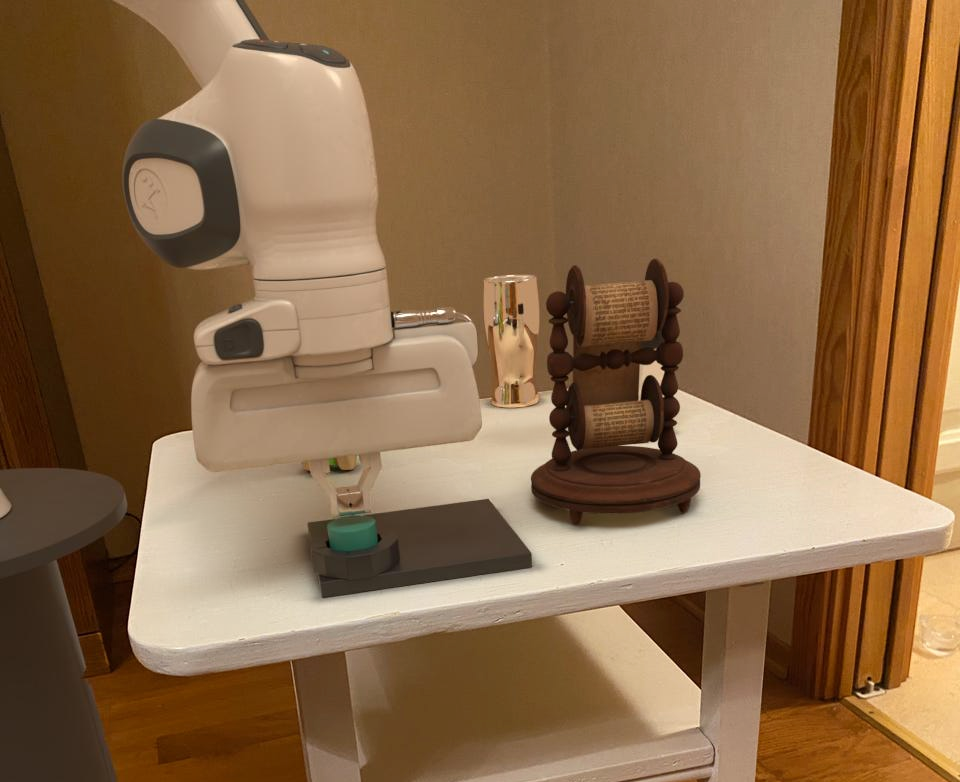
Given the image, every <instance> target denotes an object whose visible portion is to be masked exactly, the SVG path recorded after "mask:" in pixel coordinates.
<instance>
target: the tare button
mask: <svg viewBox="0 0 960 782" xmlns="http://www.w3.org/2000/svg"><path fill="white" fill-rule="evenodd" d="M363 515H364V514H356V515H347V516H341V517H336V518H334V519H335V520H333V521H331V522H329V523H328V525H327V529H328V536H329V544H330V549H333V550H335V551H353V550H360V549H366V548H368V547H371V546H374V545H377V544H378V539H377V530H376V522H375V519H374V518H372V517H369V516H363Z"/></svg>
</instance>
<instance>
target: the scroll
mask: <svg viewBox="0 0 960 782" xmlns="http://www.w3.org/2000/svg"><path fill="white" fill-rule="evenodd" d="M584 280H585V279H584V275H583V273H582V270H581V268H580V267H579V266H578V265H577V264H574V265H572V266H571V267H570V269H569V270H568V273H567V277H566V282H565V292H563V291H560V290H559V291H558V290H557V291H556V290H555V291H553V292H551V293H550V294H549V295H548V296H547V299H546V302H545V307H546V311H547V313H548V314H549V315H550V316H552V317H551V318H549V319H548V323H549V324H551V325H552V329H551V334H550V336H549V337H550V338H549V347H550V348H551V350H552V352H550V353H549V354H548V355H547V358H546V368H547V373H548V375H549V376H551V377H550V380H551V382H553V383H554V384H553V387H552V388H553V389H552V391H551V396H550V401H551V403H552V405H553V406H554V408H553V409H552V410H551V411H550V413H549V418H548V420H549V424H550V426H551V427H552V428H553V429H554V430H553V432H552V433H551V436H552V437H553V438H555V441H554V444H553V447H552V450H551V458H550V459H549V460H547V461H545V463H544V464H542V465H540V466H538V467H537V468H536V469H534V470H533V472H532V474H531V475H530V483H531V484H530V490H531V493H532V496H534V498H536V499H537V500H539V501H540V502H541V503H544V504H546V505H548V506H551V507H553V508H558V509H561V510H564V511H566V510H567V511H568V515H569V518H570V521H571V523H572V525H574V526H578V525H580V524H581V521H582V517H583V513H586V514H587V513H588V514H601V515H602V514H605V515H613V514H614V515H617V514H618V515H619V514H633V513H634V514H635V513H644V512H651V511H657V510H661V509H666V508H670V507H673V506H676V505H677V507H678V509H679V512H680V513H682V514H685V513H687V512H688V510H689V509H690V506H691V502H692V498H693V497H695V496H696V495H697V494H698V493H699V491H700V489H701V470H700V469H699V467H697V466H696V465H695V464H693V463H692V462H690V461H688V460H686V459H685V458H684V457H682V456H680V455H678V454H676V453H674V451H675V450H676V449H677V447H678V439H677V435H676V432H675V428H674V427H676V426H677V425H678V421H677V420H675V417H677V416H678V414H679V413H680V410H681V405H680V401H679V400H678V398H676V397H675V395H676V394H677V393H678V391H679V384H678V380H677V376H676V371H678V370H679V369H680V367H679V366H678V365H680V364H681V363H682V362H683V359H684V348H683V345H682V343H680V341H677V340H678V339H679V336H680V334H681V328H680V324H679V320H678V315H677V314H679V313H681V312H682V309H681V308H679V307H678V306H679V305H680V304H681V302H682V301H683V299H684V296H685V293H684V292H685V291H684V288H683V286H682V285H681V284H680V283H678V282H676V281H669V279H668V273H667V271H666V269H665V265H664V264H663V263H662V261H661V260H660V259H659V258H652V259H651V260H650V261H649V263H648V265H647V267H646V271H645V275H644V280H637V281H636V280H635V281H624V282H612V283H600V284H588V285H585V281H584ZM565 315H566V317H565ZM566 323H567V324H568V328H569V330H570V334H571V335H572V344H573V345H572V354H573V355H572V354H570V353H569V352H568V351H566V349H567V348H568V345H569V339H568V335H567V332H566V328H565V324H566ZM661 329H662V330H661ZM660 330H661V334H662V337H663V339H664V340H665V342H662V343H661V344H660V345H659V346H658V347H657V349H656V350H654V349H652V348H650V347H646V348H642V349H640V346H641V341H651V340H652V339H653V338H654V336H655V334H656V332H658V331H660ZM654 361H657V363H658V364H660V365H662V367H661V370H663V371H664V375H663V379H662V382H661V385H659V383H658V381H657V379H656V378H655V377H654V376H653V375H648V376H647V377H646V378H645V380H644V382H643V385H642V390H641V400H640V401H638V399H639V370H640V364H641V365H650V364H652V363H653V362H654ZM571 373H572V382H571V383H570V385H569V387H568V388H567V385H566V381H568V380H569V378H570V377H569V376H568V375H570V374H571ZM662 394H663V395H664V397H663V395H662ZM568 437H569V440H570V443H571V445H572V446H573V448H574V449H575V450H572V451H571V447H570V445H569V442H568V440H567V438H568ZM656 442H657V447H658V448H654V447H649V446H639V445H640V444H648V443H656ZM636 445H638V446H636Z"/></svg>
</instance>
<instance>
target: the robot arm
mask: <svg viewBox="0 0 960 782" xmlns="http://www.w3.org/2000/svg"><path fill="white" fill-rule="evenodd" d="M111 1H113V2H114V3H116V4H118V5H120V6H122V7H124V8H126V9H128V10H129V11H130V12H132V13H134V14H135V15H137V16H138V17H140V18H142V19H143V20H145V21H146V22H147V23H148V24H150V25H151V26H152V27H153V28H155V29H156V30H157V31H158V32H159V33H160V34H162V36H164V37H165V39H166V40H167V41H168V42H169V43H170V45H172V46H173V48H174V49H175V50H176V52H177V53H178V54H179V56H180V57H181V59H182V61H183V62H184V64H185V65H186V67H187V69H188V70H189V71H190V73H191V74H192V76H193V78H194V79H195V81H196V82H197V83H198V85H199V86H200V88H201V90H199V91H198V92H197V93H196V94H195V95H193V96H192V97H191V98H189V99H188V100H186V101H185V102H184V103H182V104H180V105H179V106H177V107H176V108H173V109H172V110H170V111H169V112H167V113H165V114H163V115H162V116H159V117H158V118H152V119H149V120H146V121H145V122H143V123H142V124H141V125H140V126H139V127H138V128H137V129H136V131H135V132H134V134H133V135H132V136H131V139H130V141H129V142H128V145H127V147H126V150H125V153H124V158H123V163H122V171H121V172H122V173H121V174H122V175H121V177H122V178H121V179H122V180H121V181H122V190H123V197H124V201H125V205H126V209H127V212H128V216H129V218H130V220H131V223H132V226H133V227H134V229H135V231H136V233H137V235H138V236H139V237H140V239H141V240H142V242H143V243H144V244H145V245H146V247H147V248H148V249H149V250H150V251H151V252H152V253H153V254H154V255H156V257H158V258H159V259H160V260H161V261H163V262H164V263H166V264H168V265H170V266H172V267H175V268H179V269H190V270H197V271H198V270H199V271H205V270H207V271H208V270H213V269H221V268H226V267H227V268H228V267H232V266H235V267H236V266H237V267H241V266H248V265H250V266H251V272H252V277H251V278H252V283H253V290H254V296H253V297H252V298H250V299H248V300H245V301H243V302H240V303H236V304H234V305H232V306H230V307H229V308H227V309H224V310H222V311H220V312H217V313H215V314H213V315H211V316H208V317H207V318H205V319H203V320H202V321H200V323H198V324H197V326H196V327H195V329H194V332H193V344H194V349H195V351H196V354H197V356H198V358H199V359H200V360H201V361H200V363H199V364H198V366H197V368H196V370H195V373H194V377H193V380H192V385H191V395H190V396H191V397H190V398H191V399H190V407H191V408H190V409H191V411H190V412H191V428H192V439H193V446H194V452H195V458H196V461H197V462H198V463H199V464H200V465H201V466H202V467H203V468H204V469H206V471H208V472H210V473H223V472H228V471H237V470H238V471H239V470H244V469H253V468H261V467H271V466H277V465H278V466H279V465H285V464H286V465H287V464H295V463H302V462H303V461H308V463H309V469H310V471H309V472H310V476H311V478H312V479H313V480H314V481H315V482H316V484H317V485H318V486H319V487H320V488H321V490H322V491H323V492H324V493H325V495H326V496H328V503H329V510H330V514H331V517H332V519H334V518H341V517H345V516H353V515H365V514H372V504H371V496H370V495H371V494H370V492H371V491H372V489H373V486H374V485H375V483H376V480H377V477H378V476H379V474H380V471H381V469H382V467H383V466H382V458H381V457H382V456H381V453H384V452H385V453H386V452H392V451H399V450H400V451H401V450H408V449H417V448H425V447H431V446H441V445H448V444H457V443H465V442H471V441H473V440H475V438H476V436H477V435H478V434H479V432H480V430H481V429H482V427H483V417H482V409H481V402H480V396H479V391H478V385H477V380H476V376H475V372H474V366H475V365H476V363H477V361H478V357H479V338H478V337H479V336H478V330H477V329H478V328H477V326H476V325H475V323H474V321H473V320H472V319H471V318H470V317H469V316H468V315H467V314H465V313H463V312H460V311H456V309H455V307H452V306H438V307H435V308H433V309H422V310H421V309H408V310H407V309H406V310H396V311H392V310H391V303H390V301H391V300H390V292H389V281H388V271H387V263H386V258H385V254H384V252H383V250H382V247H381V244H380V242H379V238H378V237H379V236H378V231H377V211H378V205H379V197H380V195H379V193H380V192H379V182H378V181H379V180H378V172H377V163H376V156H375V147H374V140H373V134H372V128H371V122H370V116H369V112H368V107H367V102H366V99H365V95H364V91H363V88H362V87H363V86H362V85H361V82H360V79H359V76H358V73H357V72H356V69H355V67H354V65H353V64H352V62H351V61H350V60H349V59H348V58H347V57H346V56H344V55H343V54H342V53H341V52H340V51H337V50H336V49H334V48H332V47H329V46H326V45H318V44H311V43H301V42H288V41H280V40H271V39H269V37H268V36H267V34H266V33H265V31H264V29H263V28H262V26H261V24H260V23H259V21H258V20H257V18H256V16H255V15H254V13H253V11H252V10H251V9H250V7H249V5H248V4H247V2H246V0H111ZM457 319H460V320H462V321H457ZM456 321H457V322H456ZM352 455H356V456H358V460H359V462H360V465H361V467H362V468H363V471H362V472H361V475H360V478H359V479H358V482H357V484H356V485H349V486H341V487H336V486H335V484H334V483H333V482H332V481H331V479H330V478H329V476H328V475H327V474H329V473H330V472H331V465H329V458H336V457H344V456H352ZM11 507H12V505H11V503H10V502H9V500H8V499H7V497H6V496H5V494H4V493H3V491H2V490H1V488H0V518H1V517H3V516H4V515H6V514H7V513H8V512H9V511H10V510H11Z"/></svg>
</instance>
